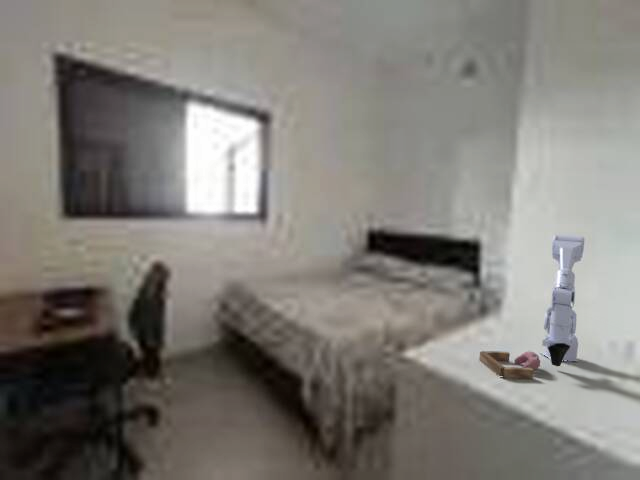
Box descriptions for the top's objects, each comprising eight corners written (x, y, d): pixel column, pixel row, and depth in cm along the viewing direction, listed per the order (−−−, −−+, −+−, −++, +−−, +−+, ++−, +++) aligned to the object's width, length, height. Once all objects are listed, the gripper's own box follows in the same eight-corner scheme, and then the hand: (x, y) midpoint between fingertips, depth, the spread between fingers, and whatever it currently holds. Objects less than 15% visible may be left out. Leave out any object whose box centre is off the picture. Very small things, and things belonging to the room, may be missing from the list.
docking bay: (506, 360, 150) (507, 351, 150) (532, 379, 134) (533, 369, 134) (478, 359, 149) (479, 350, 149) (501, 378, 133) (502, 368, 133)
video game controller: (533, 380, 138) (545, 362, 136) (519, 372, 138) (532, 354, 137) (524, 368, 147) (536, 351, 146) (512, 361, 148) (524, 344, 147)
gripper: (561, 319, 149) (556, 358, 150) (535, 323, 141) (531, 364, 142) (582, 325, 143) (577, 365, 144) (556, 329, 135) (551, 371, 136)
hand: (555, 365), depth 143 cm, fingers closed
